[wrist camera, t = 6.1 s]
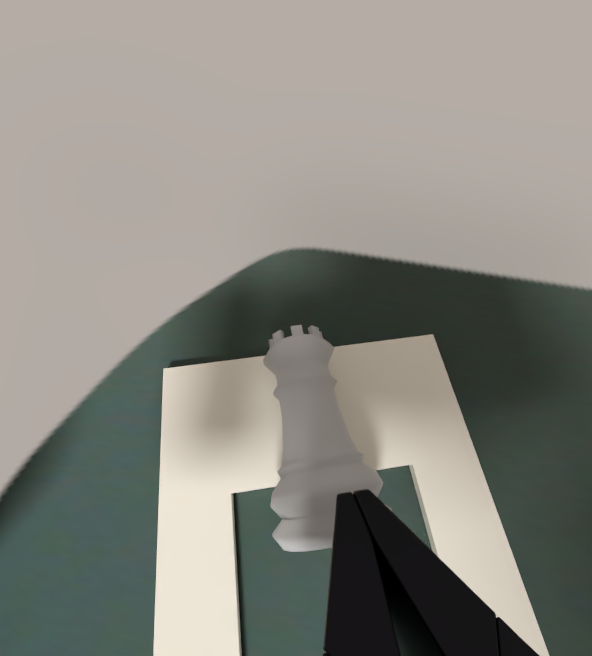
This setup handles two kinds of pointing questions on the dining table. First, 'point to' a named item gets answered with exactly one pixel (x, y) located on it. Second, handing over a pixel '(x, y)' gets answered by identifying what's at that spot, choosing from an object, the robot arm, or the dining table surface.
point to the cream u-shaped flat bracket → (261, 472)
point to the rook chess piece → (311, 443)
